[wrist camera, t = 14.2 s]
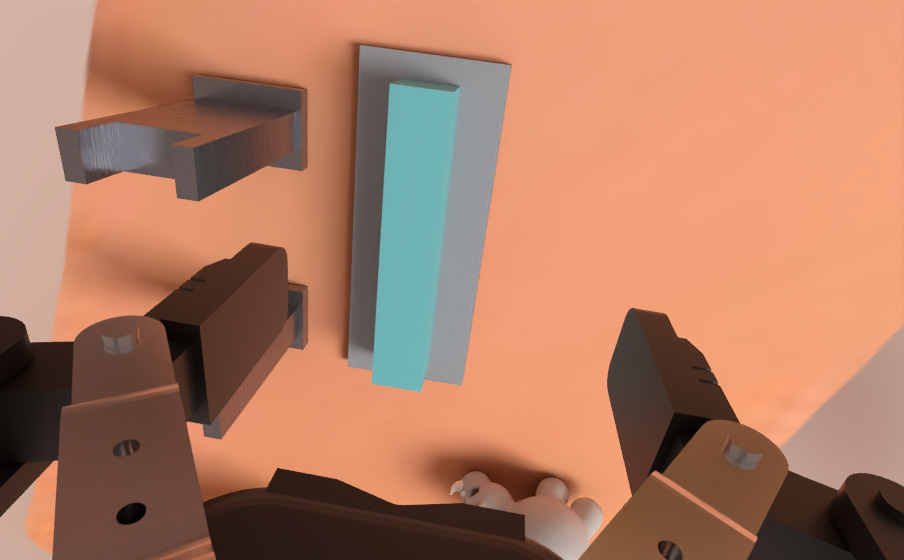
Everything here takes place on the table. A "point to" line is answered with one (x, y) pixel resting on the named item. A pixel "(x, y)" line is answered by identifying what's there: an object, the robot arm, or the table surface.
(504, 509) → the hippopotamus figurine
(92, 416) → the robot arm
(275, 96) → the bracket stand
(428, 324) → the rail bar
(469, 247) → the rubber mat
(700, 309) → the table surface
